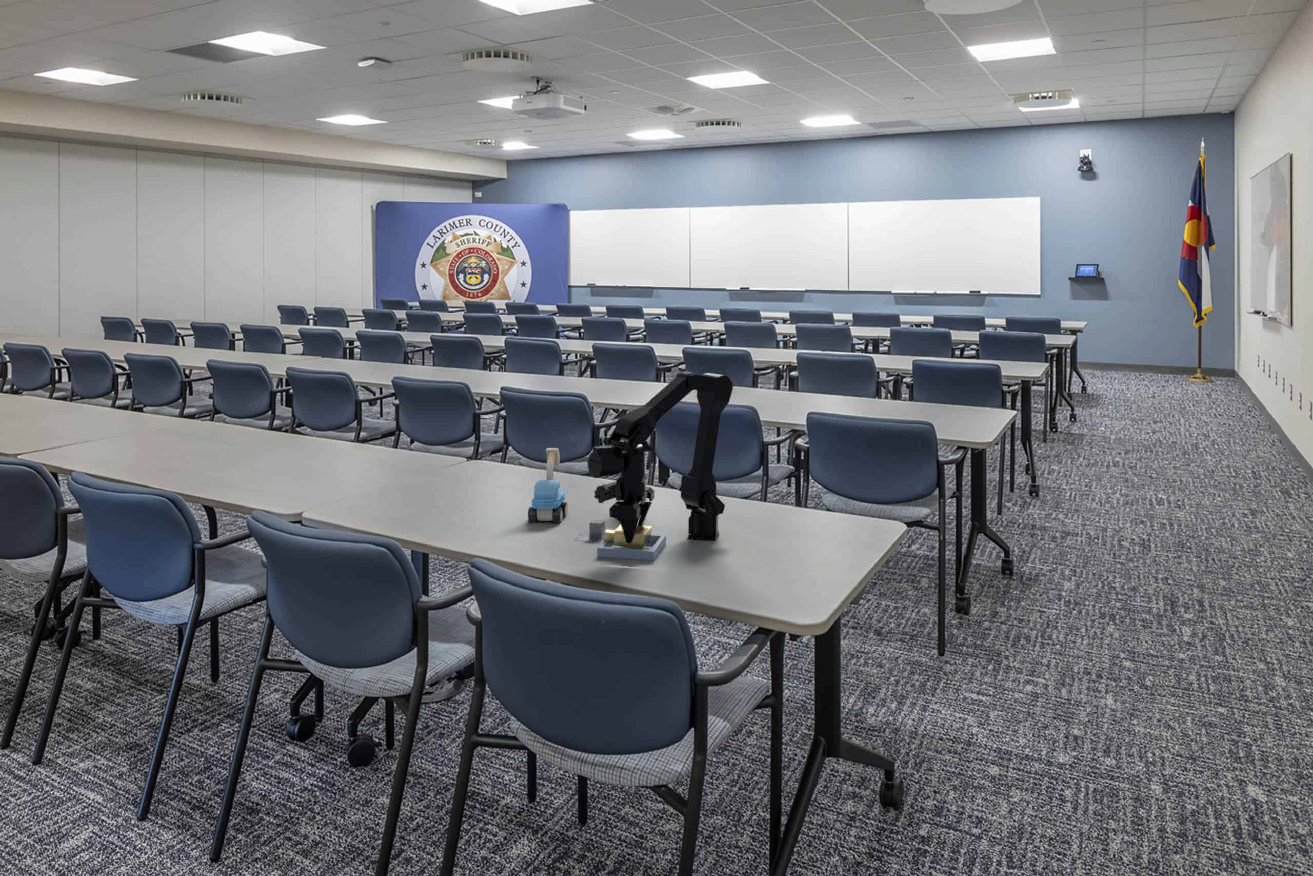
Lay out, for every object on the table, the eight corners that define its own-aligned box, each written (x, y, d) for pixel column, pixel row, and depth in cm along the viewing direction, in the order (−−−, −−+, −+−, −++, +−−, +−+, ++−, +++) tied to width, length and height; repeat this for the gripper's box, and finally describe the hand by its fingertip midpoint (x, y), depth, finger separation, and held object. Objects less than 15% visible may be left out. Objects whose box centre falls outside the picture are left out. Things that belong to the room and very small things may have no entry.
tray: (665, 545, 218) (666, 535, 218) (653, 562, 206) (653, 551, 205) (612, 541, 221) (612, 531, 221) (597, 558, 209) (597, 547, 208)
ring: (650, 541, 216) (651, 526, 215) (643, 550, 209) (644, 535, 208) (609, 534, 218) (610, 520, 217) (600, 543, 211) (602, 528, 210)
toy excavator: (572, 509, 250) (571, 446, 247) (560, 526, 234) (559, 459, 231) (541, 508, 251) (540, 446, 248) (526, 525, 235) (525, 459, 231)
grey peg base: (620, 533, 228) (620, 517, 227) (610, 544, 219) (610, 527, 218) (584, 531, 230) (584, 515, 229) (573, 541, 221) (573, 525, 220)
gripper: (609, 461, 221) (609, 525, 223) (586, 479, 203) (587, 548, 206) (654, 463, 218) (654, 527, 221) (635, 482, 200) (636, 551, 203)
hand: (632, 538), depth 213 cm, fingers closed on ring, 7 cm apart
